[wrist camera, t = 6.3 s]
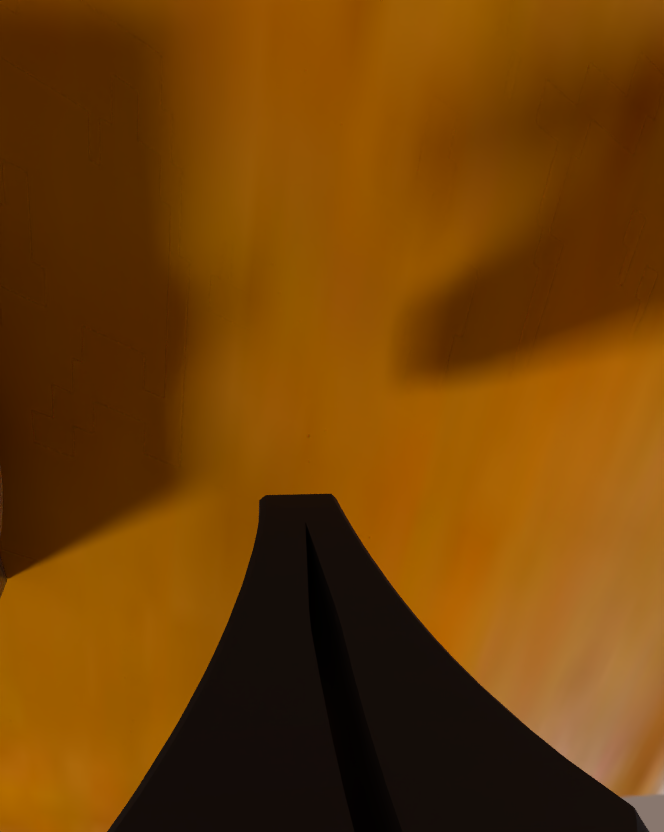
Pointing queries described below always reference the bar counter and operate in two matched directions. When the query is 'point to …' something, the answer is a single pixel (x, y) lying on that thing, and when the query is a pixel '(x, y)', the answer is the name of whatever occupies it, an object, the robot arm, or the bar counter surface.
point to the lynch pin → (1, 500)
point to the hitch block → (2, 578)
